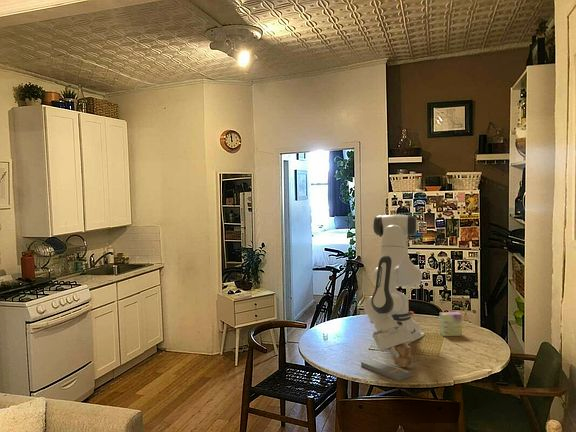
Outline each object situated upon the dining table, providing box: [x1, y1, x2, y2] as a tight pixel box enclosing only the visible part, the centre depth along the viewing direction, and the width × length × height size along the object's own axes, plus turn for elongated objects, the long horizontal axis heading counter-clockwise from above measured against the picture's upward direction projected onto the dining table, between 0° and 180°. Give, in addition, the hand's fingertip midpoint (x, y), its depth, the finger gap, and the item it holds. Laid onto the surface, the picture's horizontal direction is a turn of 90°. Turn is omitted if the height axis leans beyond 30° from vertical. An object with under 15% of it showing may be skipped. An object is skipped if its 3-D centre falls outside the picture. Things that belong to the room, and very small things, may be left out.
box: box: [438, 311, 463, 337], centre depth 252 cm, size 10×6×12 cm, turn 92°
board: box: [360, 357, 412, 382], centre depth 204 cm, size 8×22×2 cm, turn 36°
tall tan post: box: [394, 344, 412, 368], centre depth 207 cm, size 5×5×8 cm
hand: (404, 355), depth 207 cm, fingers closed on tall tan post, 5 cm apart
